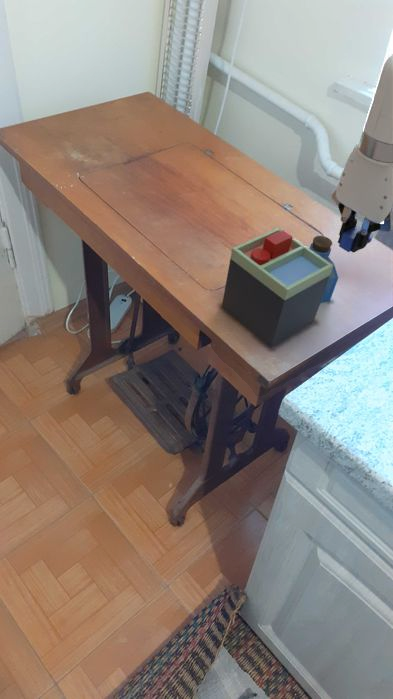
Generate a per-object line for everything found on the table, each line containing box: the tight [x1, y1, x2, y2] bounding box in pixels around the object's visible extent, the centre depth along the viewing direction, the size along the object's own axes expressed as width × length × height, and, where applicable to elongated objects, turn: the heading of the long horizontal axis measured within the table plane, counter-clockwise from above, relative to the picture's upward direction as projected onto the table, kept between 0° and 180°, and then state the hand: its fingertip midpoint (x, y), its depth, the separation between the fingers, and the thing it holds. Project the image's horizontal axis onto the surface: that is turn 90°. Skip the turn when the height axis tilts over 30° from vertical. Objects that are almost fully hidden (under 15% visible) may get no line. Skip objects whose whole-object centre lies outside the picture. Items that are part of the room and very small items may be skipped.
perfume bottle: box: [308, 235, 339, 304], centre depth 92 cm, size 6×6×12 cm
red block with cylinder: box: [250, 229, 294, 265], centre depth 84 cm, size 7×3×3 cm, turn 130°
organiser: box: [230, 227, 333, 300], centre depth 83 cm, size 10×12×2 cm
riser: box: [221, 258, 330, 349], centre depth 88 cm, size 10×12×11 cm
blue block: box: [338, 225, 374, 253], centre depth 95 cm, size 7×3×3 cm, turn 130°
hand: (350, 244), depth 95 cm, fingers closed on blue block, 2 cm apart
